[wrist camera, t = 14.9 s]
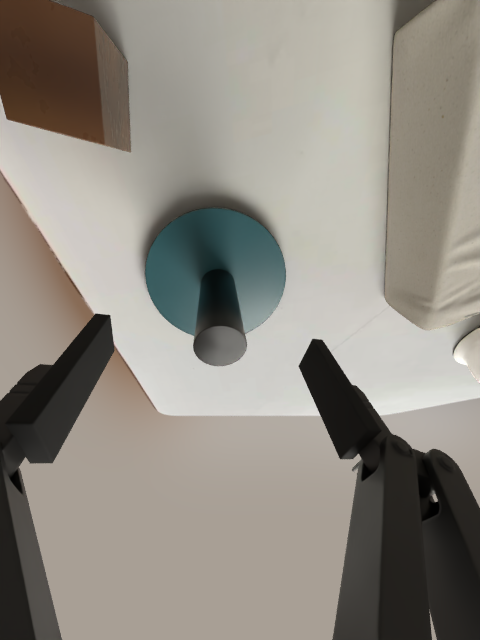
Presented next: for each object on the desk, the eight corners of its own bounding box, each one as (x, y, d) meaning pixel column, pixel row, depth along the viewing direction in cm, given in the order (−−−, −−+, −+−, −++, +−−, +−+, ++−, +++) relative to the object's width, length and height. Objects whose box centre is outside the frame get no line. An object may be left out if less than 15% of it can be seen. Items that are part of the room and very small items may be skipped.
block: (42, 32, 14) (-34, -32, 9) (127, 61, 15) (93, 15, 10) (59, 133, 16) (6, 119, 12) (131, 152, 17) (104, 145, 13)
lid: (118, 237, 20) (38, 288, 11) (266, 182, 19) (314, 188, 10) (185, 346, 29) (172, 428, 19) (292, 313, 27) (333, 383, 18)
